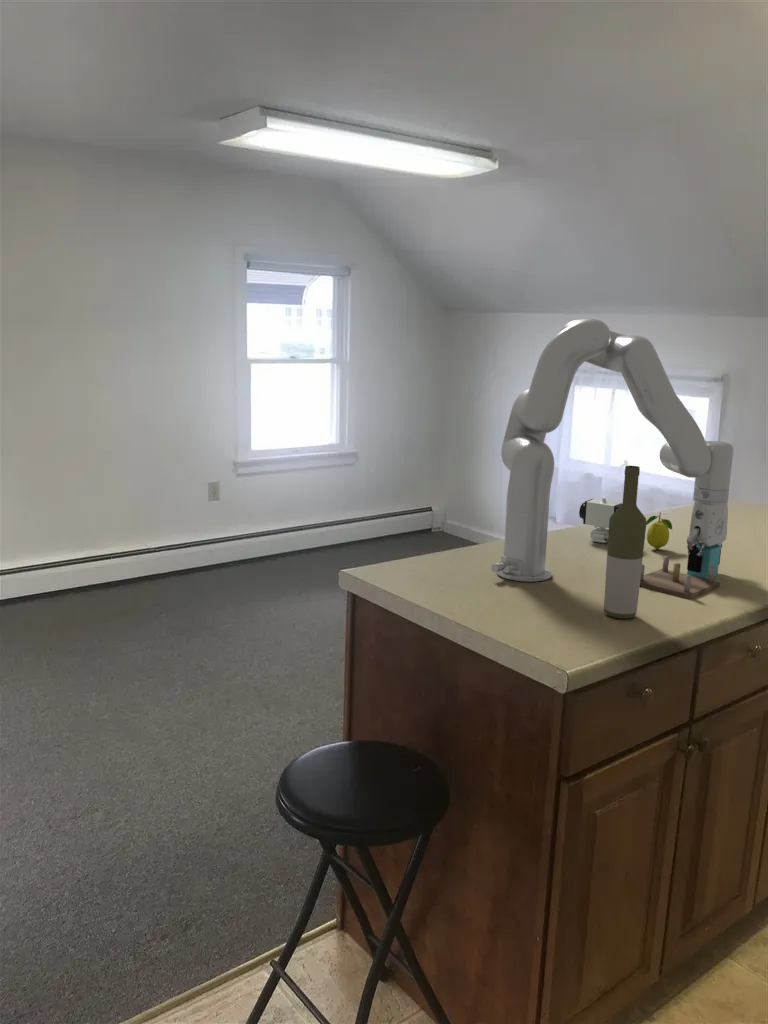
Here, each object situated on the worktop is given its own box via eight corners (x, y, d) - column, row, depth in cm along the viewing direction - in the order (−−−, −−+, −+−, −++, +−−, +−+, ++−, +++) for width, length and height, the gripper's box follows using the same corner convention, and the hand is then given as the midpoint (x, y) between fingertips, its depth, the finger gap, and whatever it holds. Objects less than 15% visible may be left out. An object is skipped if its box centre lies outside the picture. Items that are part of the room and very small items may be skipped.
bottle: (643, 614, 168) (657, 466, 162) (629, 623, 163) (643, 470, 156) (610, 607, 172) (622, 462, 166) (595, 615, 167) (607, 466, 161)
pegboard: (689, 599, 179) (691, 576, 178) (630, 583, 189) (632, 562, 188) (719, 586, 188) (721, 565, 187) (662, 572, 198) (664, 552, 197)
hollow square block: (707, 579, 194) (710, 549, 192) (687, 574, 197) (690, 545, 196) (717, 575, 197) (720, 546, 196) (697, 570, 201) (700, 542, 199)
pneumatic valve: (618, 547, 221) (621, 502, 218) (576, 539, 228) (580, 496, 225) (626, 543, 225) (629, 499, 223) (585, 536, 232) (588, 493, 230)
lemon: (642, 550, 218) (645, 513, 216) (643, 545, 223) (647, 509, 221) (669, 553, 216) (673, 515, 213) (670, 548, 221) (673, 511, 219)
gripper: (708, 502, 185) (701, 578, 188) (743, 493, 196) (735, 564, 200) (677, 497, 190) (670, 571, 194) (712, 488, 202) (705, 558, 205)
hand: (703, 567), depth 197 cm, fingers open, 8 cm apart
